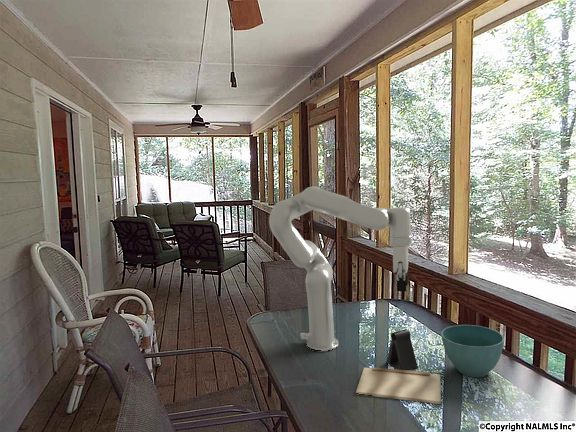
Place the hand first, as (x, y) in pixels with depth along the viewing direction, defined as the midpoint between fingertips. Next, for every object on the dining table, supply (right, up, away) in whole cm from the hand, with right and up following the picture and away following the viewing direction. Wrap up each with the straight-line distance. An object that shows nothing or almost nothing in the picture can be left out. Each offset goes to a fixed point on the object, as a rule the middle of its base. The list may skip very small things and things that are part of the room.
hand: (402, 287), depth 151 cm
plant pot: (+17, -24, -19) cm, 35 cm away
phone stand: (-4, -24, -12) cm, 28 cm away
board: (-8, -26, -25) cm, 37 cm away
